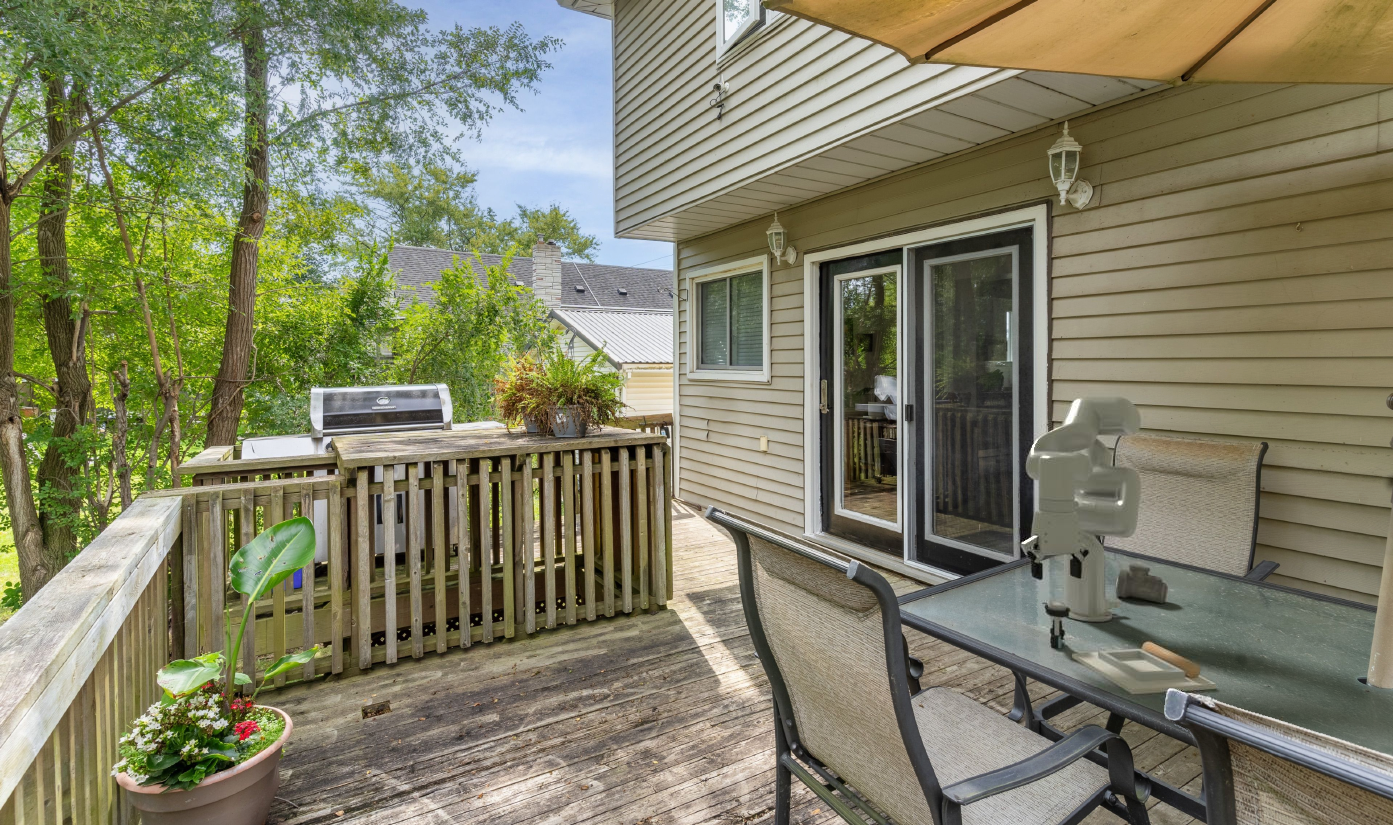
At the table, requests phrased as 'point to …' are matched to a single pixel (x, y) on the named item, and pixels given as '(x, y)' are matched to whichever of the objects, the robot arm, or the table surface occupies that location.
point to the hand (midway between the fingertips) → (1056, 577)
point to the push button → (1057, 622)
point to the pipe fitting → (1140, 584)
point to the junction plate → (1146, 669)
